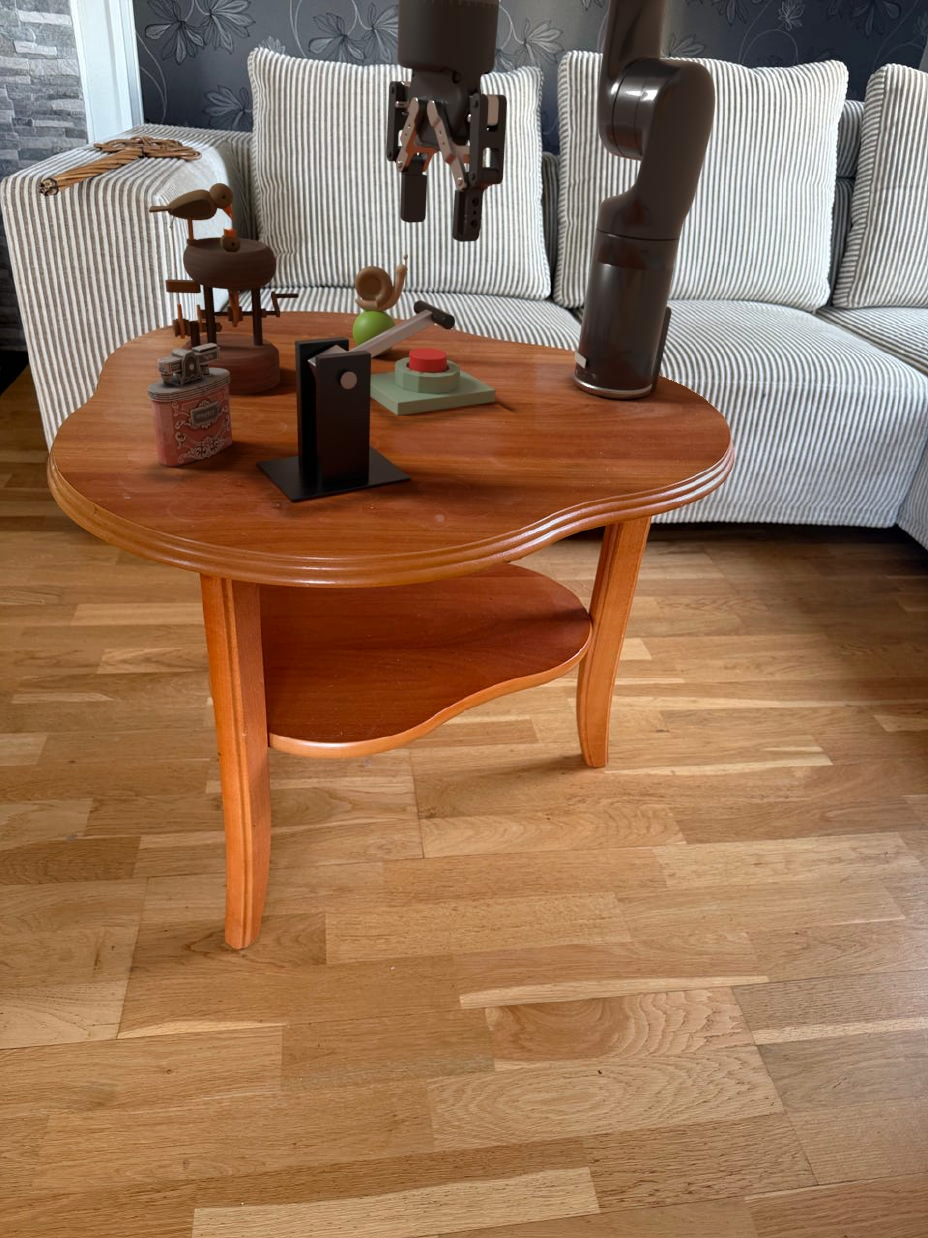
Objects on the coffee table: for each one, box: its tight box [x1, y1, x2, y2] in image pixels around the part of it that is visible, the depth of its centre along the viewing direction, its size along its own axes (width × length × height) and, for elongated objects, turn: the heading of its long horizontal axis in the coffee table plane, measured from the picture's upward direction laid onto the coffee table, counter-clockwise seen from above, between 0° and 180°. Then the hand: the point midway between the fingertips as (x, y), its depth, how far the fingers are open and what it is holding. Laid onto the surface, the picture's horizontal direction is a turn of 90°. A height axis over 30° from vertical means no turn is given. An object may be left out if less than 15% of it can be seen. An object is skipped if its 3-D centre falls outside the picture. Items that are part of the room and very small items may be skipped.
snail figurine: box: [352, 253, 409, 357], centre depth 105 cm, size 5×6×12 cm
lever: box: [308, 299, 456, 380], centre depth 72 cm, size 12×5×2 cm, turn 122°
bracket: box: [255, 336, 412, 504], centre depth 73 cm, size 11×8×12 cm
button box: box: [370, 356, 497, 416], centre depth 94 cm, size 12×9×4 cm
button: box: [408, 347, 448, 373], centre depth 92 cm, size 4×4×2 cm
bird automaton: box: [148, 182, 300, 395], centre depth 92 cm, size 15×11×20 cm
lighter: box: [146, 343, 234, 469], centre depth 75 cm, size 8×3×10 cm, turn 148°
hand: (437, 230), depth 74 cm, fingers open, 8 cm apart
